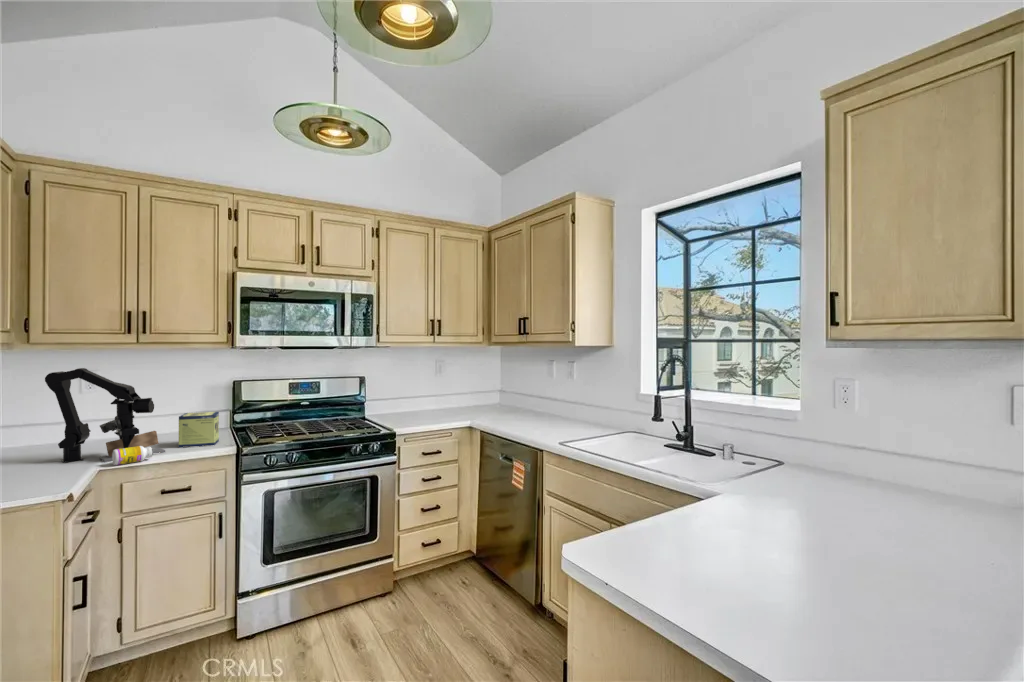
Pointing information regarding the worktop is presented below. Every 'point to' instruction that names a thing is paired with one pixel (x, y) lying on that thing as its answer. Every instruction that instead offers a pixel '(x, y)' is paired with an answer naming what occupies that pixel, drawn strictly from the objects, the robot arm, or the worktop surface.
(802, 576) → the worktop surface
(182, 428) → the protein box
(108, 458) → the mat
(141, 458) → the supplement bottle
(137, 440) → the brown wooden plank
